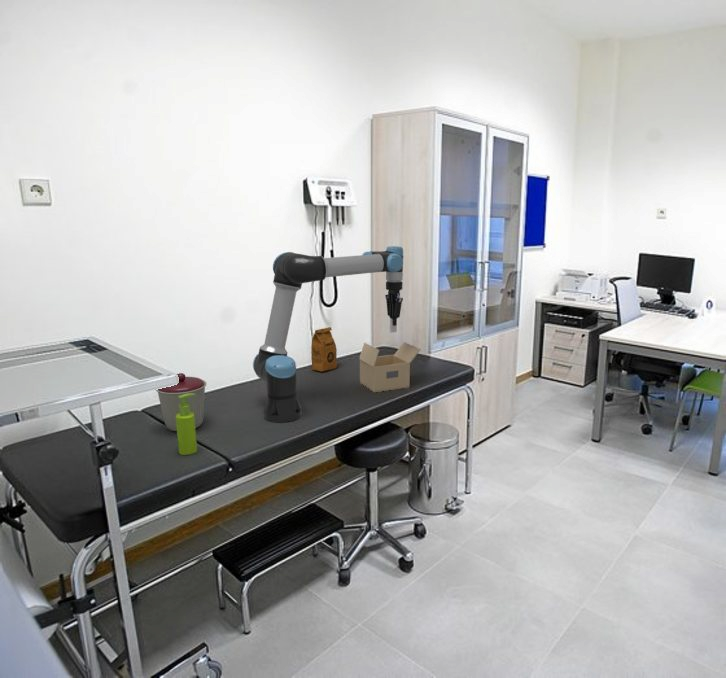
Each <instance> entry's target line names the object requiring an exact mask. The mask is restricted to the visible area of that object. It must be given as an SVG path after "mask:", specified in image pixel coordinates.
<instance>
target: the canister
mask: <svg viewBox="0 0 726 678" xmlns="http://www.w3.org/2000/svg"><path fill="white" fill-rule="evenodd" d="M176 375H178V377H179V383H178V384H177V385H174V386H171V387H166V388H162V389H158V390H156V389H155V391H156V392H157V394H158V400H159V403H160V405H159V406H160V408H161V414H162V416H163V420H164V424H165V426H166V428H168V430H169V431H173V432H177V425H176V415H177V414H179V405H180V404H181V399H179V398H178V396H181V395H183V394H187V393H193V394H195V396H190V397H187V398H186V402H187V404H189V406H190V412H192V413H194V418H195V429H198V427H201V425H202V424H203V421H204V415H205V414H204V412H205V396H206V392H205V390H206V388H205V387H206V386H207V381H205V380H203V379H202V378H199V377H195V376H186V374H185V373H182V372H180V373H176Z"/></svg>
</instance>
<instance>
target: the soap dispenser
mask: <svg viewBox="0 0 726 678" xmlns="http://www.w3.org/2000/svg"><path fill="white" fill-rule="evenodd" d="M190 396H195V394H193V393H187V394H183V395H181V396H178V398H179V399H181V404H180V405H179V414H177V415H176V425H177V431H176V433H177V444H178V445H177V446H178V453H179V454H180V455H183V456H189V455H193V454H195V453H197V452H198V443H197V433H196V432H197V431H196V428H195V418H194V413H192V412H190V406H189V404H187V402H186V398H187V397H190Z"/></svg>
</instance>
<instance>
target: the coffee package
mask: <svg viewBox="0 0 726 678" xmlns="http://www.w3.org/2000/svg"><path fill="white" fill-rule="evenodd" d="M310 349H311V350H310V355H311V358H310V359H311V370H312V371H318V372H326V371H331V370H334V369H336V368H338V367H337V366H338V359H337V350H338V348H337V345H336V342H335V339H334V337H333V334H332V327H331V326H329V327H328V326H327V327H324V328H319V329H316V330H314V334H313V336H312V339H311V345H310Z"/></svg>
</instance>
